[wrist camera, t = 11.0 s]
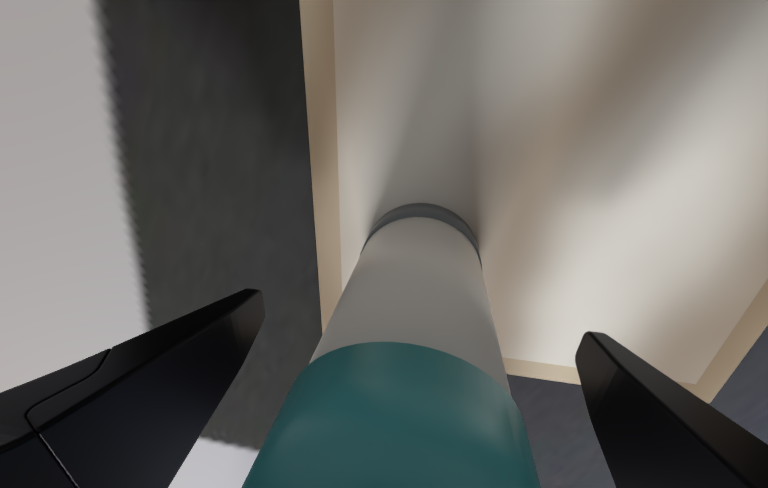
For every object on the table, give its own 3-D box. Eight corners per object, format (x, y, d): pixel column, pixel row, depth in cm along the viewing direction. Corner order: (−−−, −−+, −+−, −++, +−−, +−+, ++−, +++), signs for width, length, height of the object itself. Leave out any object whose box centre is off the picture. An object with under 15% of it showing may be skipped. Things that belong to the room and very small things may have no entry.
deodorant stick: (489, 206, 10) (665, 616, 2) (470, 308, 12) (529, 733, 4) (364, 196, 11) (151, 501, 3) (364, 296, 13) (235, 649, 5)
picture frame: (1441, -661, 4) (1589, -772, 4) (700, 392, 13) (711, 405, 12) (278, -445, 6) (262, -496, 6) (326, 339, 15) (322, 348, 14)
